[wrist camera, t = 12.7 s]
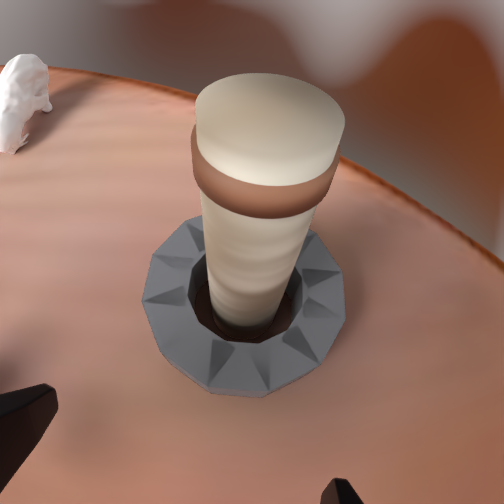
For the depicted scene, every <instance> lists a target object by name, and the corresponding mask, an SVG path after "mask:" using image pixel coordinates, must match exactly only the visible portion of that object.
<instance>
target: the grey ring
mask: <svg viewBox="0 0 504 504" xmlns="http://www.w3.org/2000/svg"><path fill="white" fill-rule="evenodd" d="M207 280H208V271H207V262H206V252H205V241H204V230H203V219H202V215H201V216H198V217H195V218H192V219H189V220H186V221H185V222H184V223H183V224H182V225H181V226H180V227H179V228H178V229H177V230H176V231H175V232H174V233H173V234H172V235H171V236H170V237H169V238H168V239H167V240H166V241H165V242H164V243H163V244H162V245H161V246H160V247H159V248H158V249H157V250H156V251H155V253H154V254H153V255H152V259H151V263H150V267H149V272H148V276H147V280H146V284H145V289H144V293H143V298H142V304H143V307H144V310H145V312H146V315H147V318H148V321H149V323H150V326H151V329H152V332H153V334H154V337H155V339H156V342H157V345H158V347H159V350H160V352H161V353H162V354H163V355H164V357H165V358H166V359H167V360H168V361H169V363H170V364H171V365H173V366H174V367H175V368H177V369H178V370H179V371H181V372H182V373H183V374H185V375H186V376H187V377H189V378H190V379H192V380H193V381H194V382H196V383H197V384H198V385H200V386H201V387H203V388H204V389H206V390H207V391H208V392H210V393H213V394H223V395H234V396H247V397H264V396H266V395H268V394H270V393H272V392H274V391H276V390H278V389H280V388H282V387H284V386H286V385H288V384H290V383H292V382H294V381H296V380H298V379H299V378H301V377H303V376H305V375H307V374H308V373H310V372H311V371H312V370H314V369H315V368H317V367H318V366H319V365H321V363H322V361H323V360H324V358H325V356H326V354H327V353H328V351H329V349H330V347H331V345H332V344H333V342H334V340H335V338H336V336H337V335H338V333H339V331H340V329H341V327H342V325H343V323H344V322H345V320H346V316H345V300H344V286H343V274H342V270H341V269H340V267H339V266H338V264H337V263H336V261H335V260H334V258H333V257H332V256H331V254H330V253H329V251H328V250H327V248H326V247H325V245H324V244H323V242H322V241H321V239H320V238H319V237H318V235H317V234H316V233H315V232H313V231H311V230H310V229H308V232H307V235H306V237H305V240H304V243H303V245H302V248H301V250H300V253H299V256H298V258H297V261H296V263H295V266H294V269H293V271H292V274H291V276H290V279H289V281H288V284H287V287H286V289H285V291H286V293H287V295H288V296H289V298H290V300H291V325H290V327H289V328H288V330H287V331H285V332H282V333H280V334H278V335H276V336H274V337H272V338H270V339H268V340H266V341H263V342H261V343H259V344H255V343H242V342H231V341H225V340H223V339H222V338H220V337H219V336H217V335H216V334H214V333H213V332H212V331H210V330H209V329H207V328H206V327H204V326H203V325H202V324H200V323H199V322H198V319H197V317H196V315H195V313H194V306H195V300H196V293H197V292H198V291H199V289H200V288H201V287H202V286H203V285H204V283H205V282H206V281H207Z"/></svg>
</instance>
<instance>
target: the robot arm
mask: <svg viewBox="0 0 504 504" xmlns="http://www.w3.org/2000/svg"><path fill="white" fill-rule="evenodd" d="M57 411H58V400H57V394H56V390H55V389H54V388H53V387H51V386H50V385H48V384H45V383H43V384H39V385H36V386H32V387H28V388H24V389H20V390H16V391H12V392H8V393H4V394H0V493H1V492H2V490H3V489H4V488H5V486H6V485H7V484H8V482H9V481H10V479H11V478H12V477H13V475H14V474H15V473H16V471H17V470H18V469H19V467H20V466H21V465H22V463H23V462H24V461H25V460H26V458H27V457H28V456H29V454H30V453H31V452H32V450H33V449H34V448H35V446H36V445H37V444H38V442H39V441H40V439H41V438H42V436H43V434H44V433H45V431H46V429H47V428H48V426H49V424H50V423H51V421H52V419H53V418H54V416H55V414H56V413H57ZM320 504H364V503H363V502H362V500H361V499H360V497H359V496H358V495H357V493H356V492H355V490H354V489H353V487H352V486H351V484H350V483H349V482H348V480H346V479H342V478H334V479H332V480H331V482H330V483H329V484H328V486H327V487H326V488H325V490H324V491H323V493H322V496H321V502H320Z"/></svg>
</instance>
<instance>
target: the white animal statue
mask: <svg viewBox="0 0 504 504" xmlns="http://www.w3.org/2000/svg"><path fill="white" fill-rule="evenodd" d="M48 83H49V75H48V67H47V65H46V64H44V63H43V62H42V61H41V59H40V58H39V57H37V56H36V55H34V54H21V55H18V56H16V57H14V58H13V59H11V60H10V61H9V62H8V63H7V64H6V66H5V67H4V69H3V71H2V73H1V75H0V152H3V153H8V154H11V155H13V154H15V152H16V150H17V149H18V148H19V147H21V146H22V145H24V144H26V143H27V142H26V143H24V141H25V139H26V138H27V136H28V135H29V134H28V135H27V134H26V135H25V136H23V137H24V138H23V137H21V135H22V129H23V127H24V125H25V123H26V121H27V120H29V119H30V118H31V117H32V115H33V113H34V112H35V111H38V110H40V109H41V110H42V111H44V112H50V111H51V110H52V105H51V103H50V102H49V94H48ZM22 143H23V144H22Z"/></svg>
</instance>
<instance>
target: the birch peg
mask: <svg viewBox="0 0 504 504" xmlns="http://www.w3.org/2000/svg"><path fill="white" fill-rule="evenodd" d="M195 115H196V124H195V126H194V128H193V131H192V134H191V150H192V162H193V173H194V177H195V180H196V182H197V184H198V186H199V187H200V194H201V207H202V219H203V230H204V241H205V252H206V262H207V271H208V281H209V290H210V299H211V307H212V315H213V319H214V321H215V323H216V325H217V327H218V328H219V329H220V330H221V331H222V332H223V333H225V334H226V335H228V336H230V337H232V338H236V339H242V340H246V339H252V338H255V337H258V336H260V335H261V334H263V333H264V332H265V331H266V330H267V329H268V328H269V327H270V325H271V323H272V321H273V319H274V316H275V314H276V312H277V309H278V307H279V304H280V302H281V299H282V297H283V294H284V292H285V289H286V287H287V284H288V281H289V279H290V276H291V274H292V271H293V269H294V266H295V263H296V261H297V258H298V256H299V253H300V250H301V248H302V245H303V243H304V240H305V237H306V235H307V232H308V229H309V226H310V224H311V221H312V218H313V216H314V213H315V210H316V207H317V205H318V203H319V202H321V201H322V199H323V198H324V197H325V196H326V194H327V192H328V190H329V188H330V185H331V182H332V179H333V177H334V174H335V171H336V169H337V166H338V163H339V160H340V145H339V142H340V138H341V135H342V133H343V129H344V126H345V118H344V114H343V112H342V110H341V108H340V107H339V105H338V104H337V103H336V102H335V101H334V100H333V99H332V98H331V97H330V96H329V95H328V94H326V93H325V92H324V91H322V90H320V89H318V88H317V87H315V86H313V85H311V84H309V83H306V82H304V81H301V80H298V79H295V78H291V77H287V76H282V75H276V74H265V73H249V74H240V75H235V76H230V77H227V78H223V79H221V80H218V81H216V82H214V83H212V84H210V85H209V86H207V87H206V88H205V89H204V90H203V91H202V92H201V93H200V94H199V95H198V97H197V99H196V103H195Z"/></svg>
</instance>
